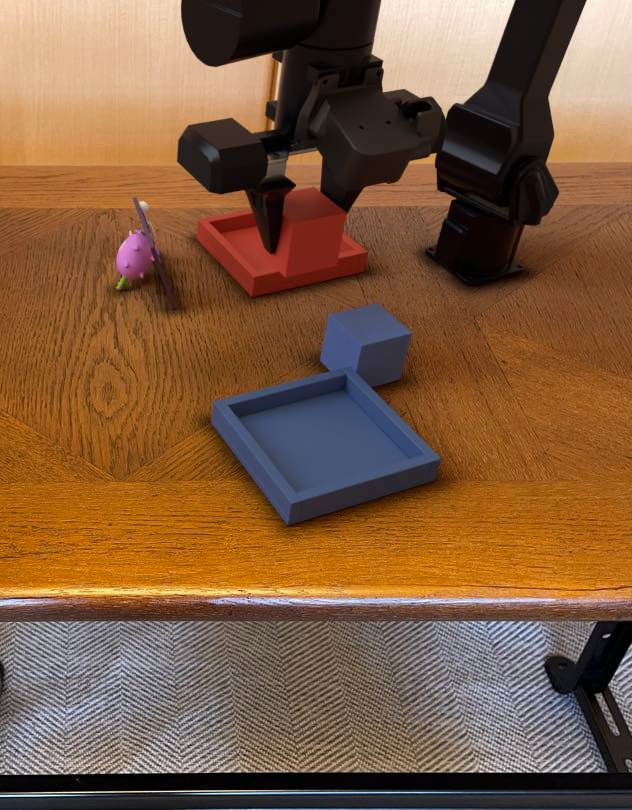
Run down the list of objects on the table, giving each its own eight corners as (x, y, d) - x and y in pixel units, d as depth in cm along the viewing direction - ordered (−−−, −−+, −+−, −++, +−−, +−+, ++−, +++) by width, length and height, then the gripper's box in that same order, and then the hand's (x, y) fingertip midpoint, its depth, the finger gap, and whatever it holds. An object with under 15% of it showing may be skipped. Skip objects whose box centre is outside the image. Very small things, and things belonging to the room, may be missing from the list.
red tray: (300, 217, 93) (303, 198, 91) (363, 272, 85) (368, 251, 83) (196, 238, 89) (197, 219, 88) (251, 297, 82) (254, 276, 80)
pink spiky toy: (162, 242, 76) (143, 192, 82) (103, 265, 76) (89, 213, 83) (185, 305, 80) (165, 252, 87) (128, 326, 80) (113, 272, 87)
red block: (305, 238, 73) (313, 186, 70) (337, 266, 70) (347, 212, 67) (255, 249, 72) (261, 196, 69) (285, 277, 69) (293, 223, 66)
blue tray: (345, 387, 72) (350, 365, 70) (435, 481, 64) (442, 458, 62) (210, 422, 68) (213, 401, 67) (287, 526, 60) (291, 503, 59)
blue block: (367, 348, 76) (377, 302, 73) (400, 380, 72) (412, 332, 69) (319, 360, 74) (328, 314, 71) (351, 393, 71) (361, 345, 68)
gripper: (265, 100, 52) (238, 328, 62) (530, 56, 57) (466, 273, 67) (179, 39, 60) (168, 249, 70) (419, 5, 65) (377, 206, 75)
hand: (297, 245), depth 70 cm, fingers closed on red block, 4 cm apart
